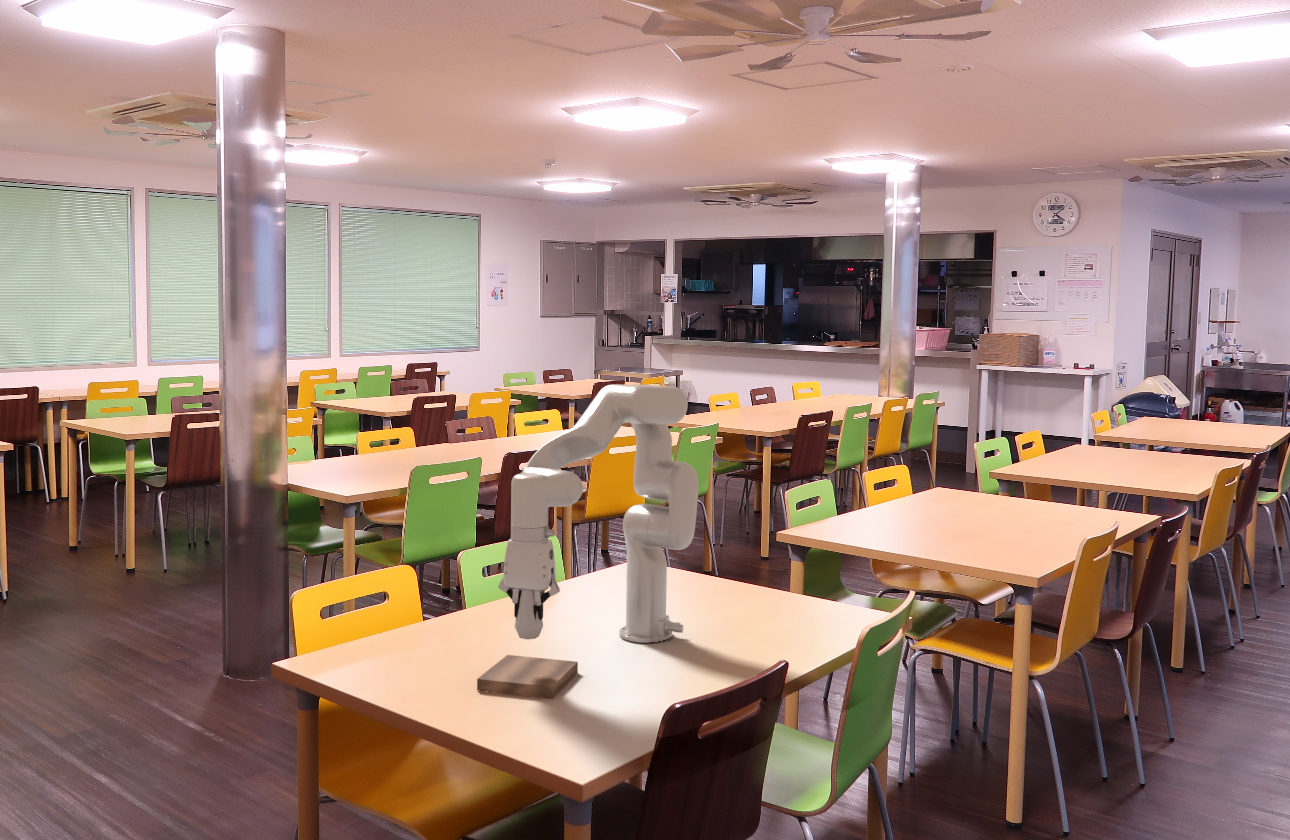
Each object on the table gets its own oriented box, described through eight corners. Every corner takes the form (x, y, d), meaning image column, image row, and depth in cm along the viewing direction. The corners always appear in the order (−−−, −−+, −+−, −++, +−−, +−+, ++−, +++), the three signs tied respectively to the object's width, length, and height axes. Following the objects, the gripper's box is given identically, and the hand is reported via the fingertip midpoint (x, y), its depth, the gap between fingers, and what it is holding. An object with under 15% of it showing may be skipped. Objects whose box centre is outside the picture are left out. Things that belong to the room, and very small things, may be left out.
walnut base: (577, 675, 221) (577, 661, 220) (552, 701, 205) (552, 686, 205) (507, 668, 224) (507, 654, 224) (477, 693, 209) (477, 678, 209)
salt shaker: (531, 642, 210) (531, 579, 209) (508, 637, 213) (509, 575, 212) (548, 635, 215) (549, 573, 214) (526, 630, 218) (527, 569, 217)
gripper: (573, 533, 213) (572, 620, 215) (499, 528, 218) (498, 613, 219) (561, 540, 206) (560, 630, 208) (484, 534, 210) (484, 623, 212)
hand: (528, 621), depth 213 cm, fingers closed on salt shaker, 3 cm apart
